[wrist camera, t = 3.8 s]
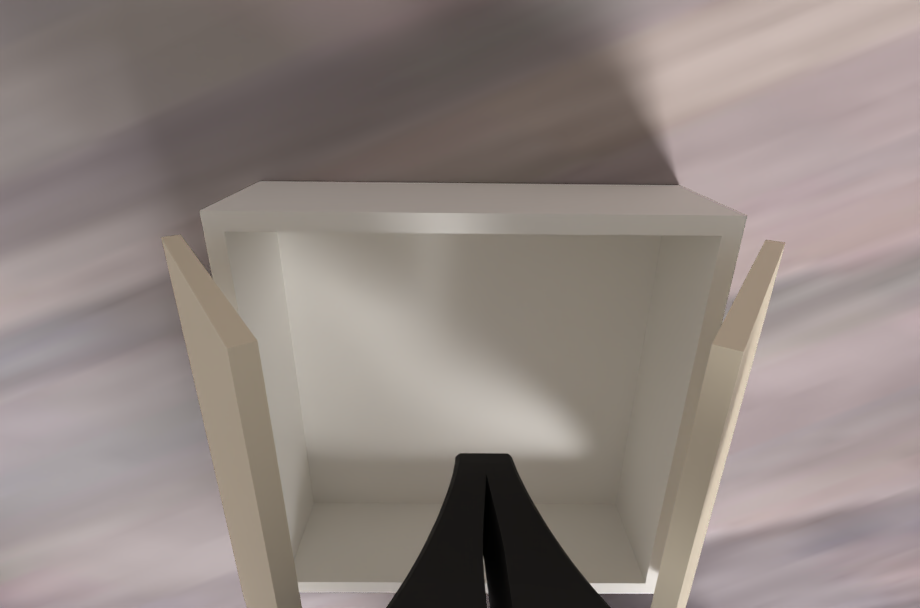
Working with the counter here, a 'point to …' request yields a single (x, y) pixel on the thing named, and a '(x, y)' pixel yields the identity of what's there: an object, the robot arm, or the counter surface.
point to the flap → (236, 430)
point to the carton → (476, 357)
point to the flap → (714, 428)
